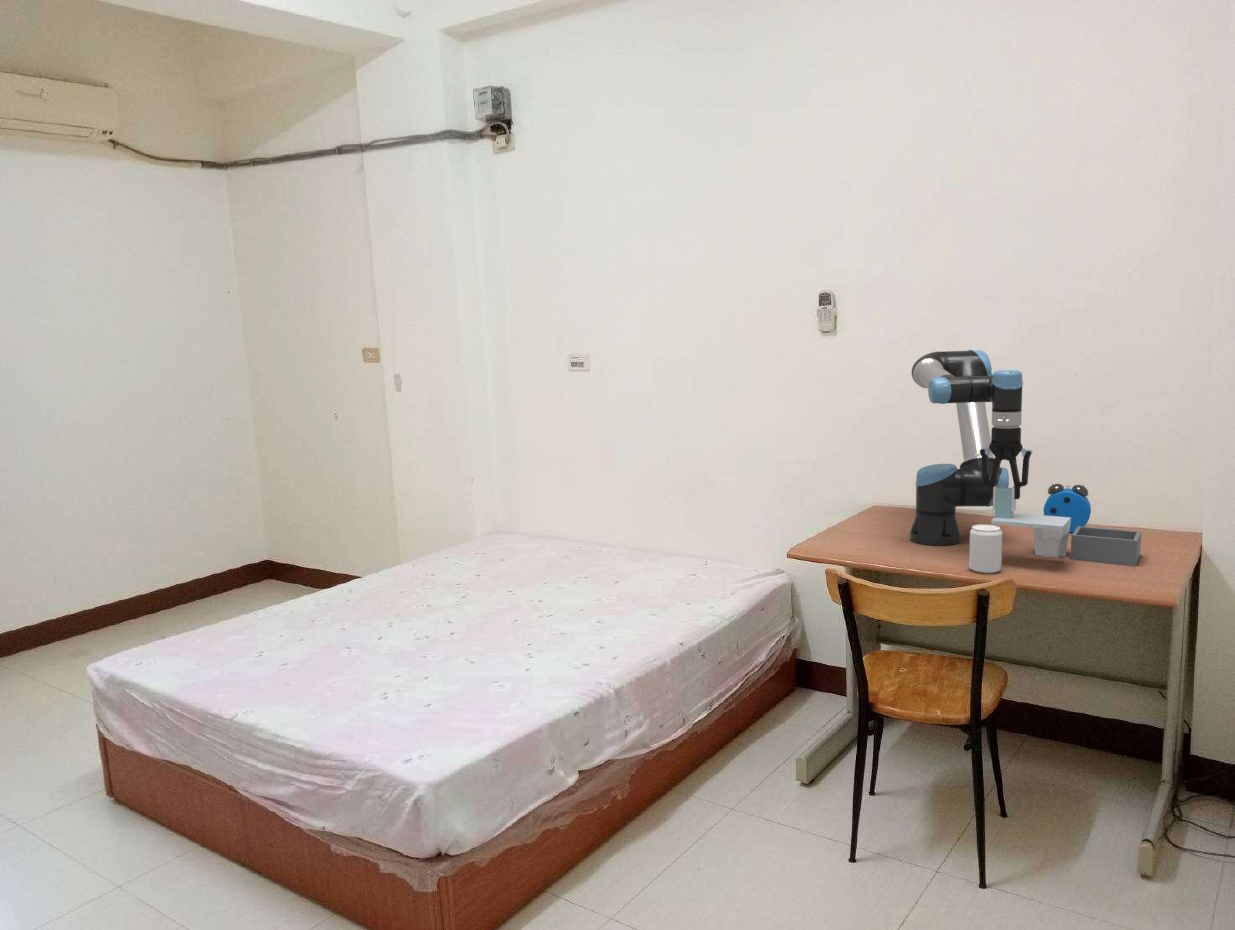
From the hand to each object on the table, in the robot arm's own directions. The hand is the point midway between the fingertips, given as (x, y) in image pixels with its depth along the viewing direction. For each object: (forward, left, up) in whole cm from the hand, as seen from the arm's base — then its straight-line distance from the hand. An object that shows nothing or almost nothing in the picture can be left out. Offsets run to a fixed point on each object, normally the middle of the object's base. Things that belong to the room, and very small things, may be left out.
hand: (1004, 509), depth 252 cm
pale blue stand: (+7, 0, -3) cm, 8 cm away
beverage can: (-2, -12, -15) cm, 19 cm away
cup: (+10, +13, -15) cm, 22 cm away
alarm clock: (+10, +44, -15) cm, 48 cm away
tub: (+24, +15, -15) cm, 32 cm away
